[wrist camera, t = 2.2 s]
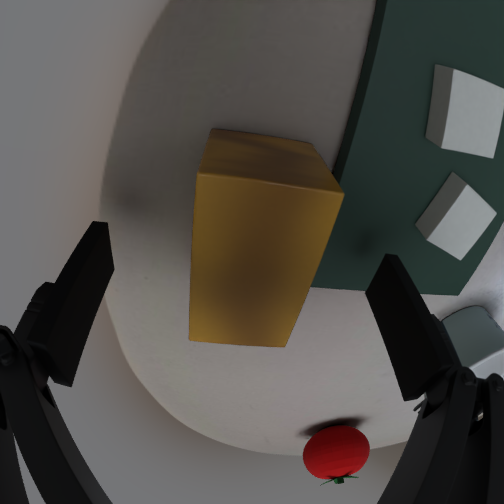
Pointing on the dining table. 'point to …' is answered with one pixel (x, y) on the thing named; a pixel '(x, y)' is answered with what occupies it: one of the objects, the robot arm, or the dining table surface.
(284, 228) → the yellow rectangular block
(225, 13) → the dining table surface
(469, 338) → the food container
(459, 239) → the white square block
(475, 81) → the grey square block
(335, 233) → the chalkboard
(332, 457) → the tomato
